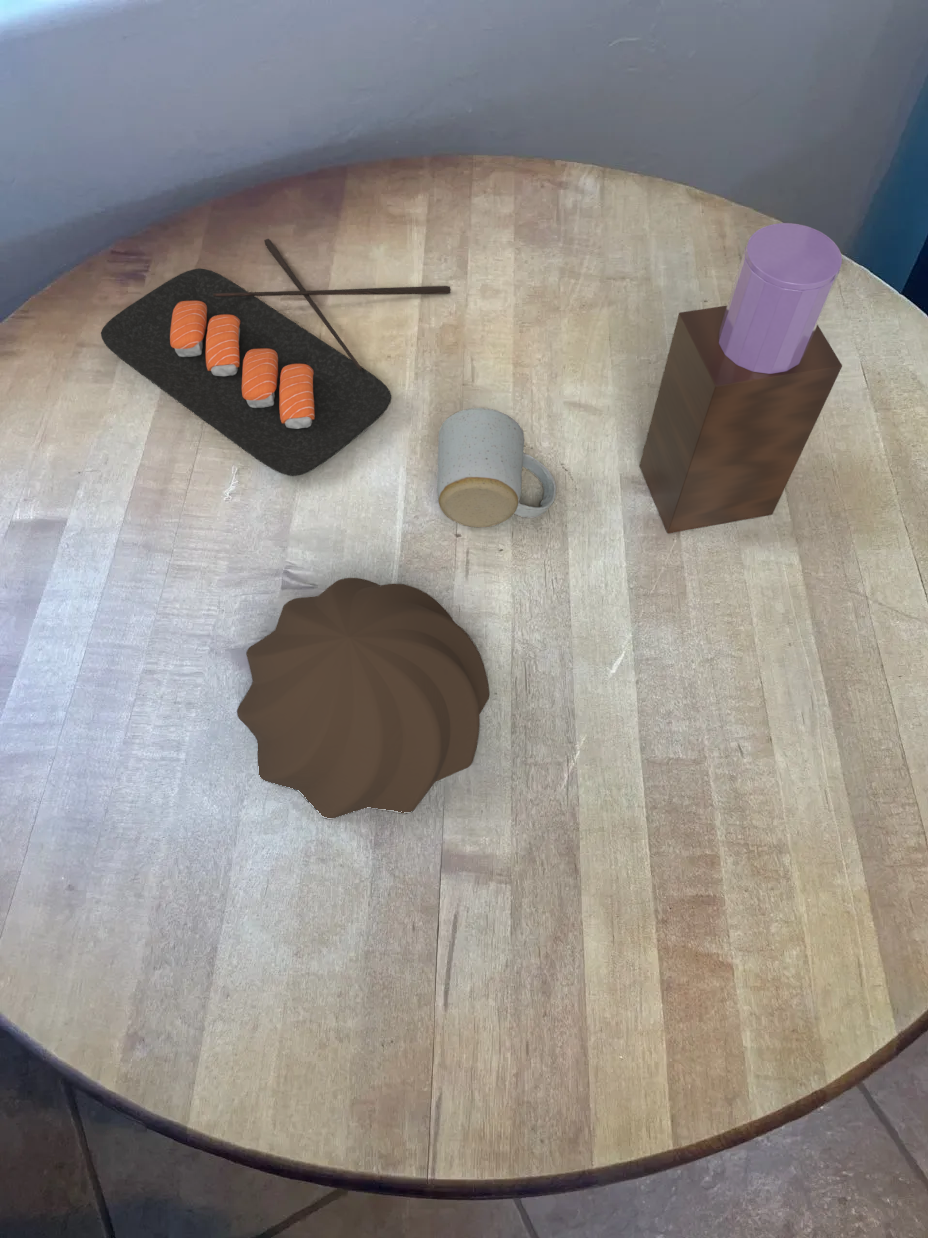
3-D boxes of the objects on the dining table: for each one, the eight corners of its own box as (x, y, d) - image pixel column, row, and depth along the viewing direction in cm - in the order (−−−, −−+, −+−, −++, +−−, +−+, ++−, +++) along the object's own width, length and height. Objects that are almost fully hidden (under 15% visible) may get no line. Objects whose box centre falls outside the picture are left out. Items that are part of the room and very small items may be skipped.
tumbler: (858, 276, 64) (818, 366, 71) (818, 217, 67) (784, 308, 74) (768, 290, 63) (737, 379, 70) (733, 229, 66) (706, 320, 73)
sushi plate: (93, 347, 96) (80, 316, 93) (308, 205, 108) (303, 174, 105) (296, 498, 87) (290, 470, 83) (507, 324, 99) (509, 294, 95)
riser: (740, 448, 90) (799, 293, 75) (772, 515, 86) (843, 365, 71) (638, 465, 89) (678, 311, 74) (667, 534, 85) (715, 386, 70)
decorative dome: (200, 784, 72) (167, 727, 64) (293, 573, 82) (276, 500, 74) (447, 852, 70) (447, 803, 61) (512, 627, 80) (520, 558, 71)
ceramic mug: (435, 532, 85) (436, 476, 78) (438, 461, 89) (439, 402, 82) (555, 536, 85) (566, 480, 78) (552, 465, 89) (562, 406, 83)
